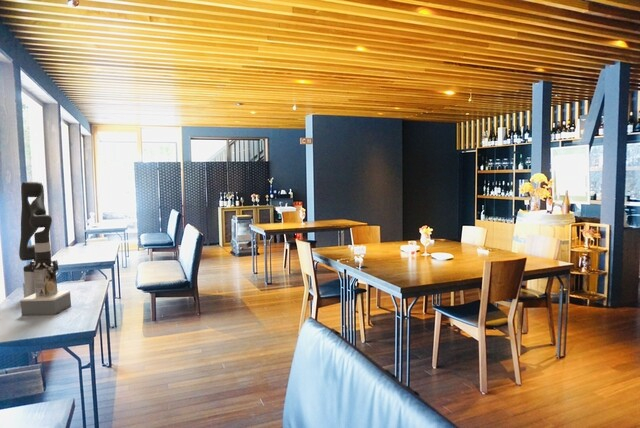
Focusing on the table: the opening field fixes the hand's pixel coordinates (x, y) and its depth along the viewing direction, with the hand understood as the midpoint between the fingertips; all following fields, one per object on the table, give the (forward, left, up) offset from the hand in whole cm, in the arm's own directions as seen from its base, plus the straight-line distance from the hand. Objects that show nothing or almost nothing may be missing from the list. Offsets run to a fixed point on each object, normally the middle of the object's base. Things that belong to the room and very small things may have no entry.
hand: (44, 279), depth 246 cm
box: (0, 0, -18) cm, 18 cm away
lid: (0, 0, -10) cm, 10 cm away
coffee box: (0, 0, -9) cm, 9 cm away
